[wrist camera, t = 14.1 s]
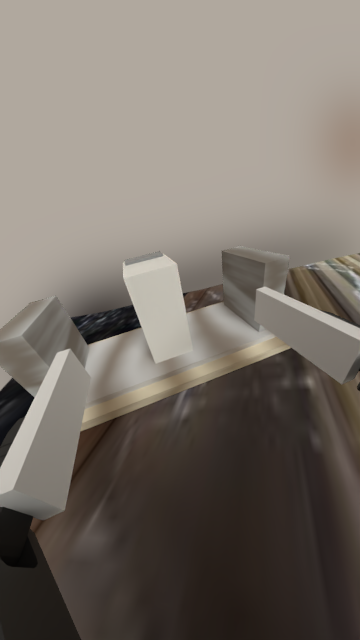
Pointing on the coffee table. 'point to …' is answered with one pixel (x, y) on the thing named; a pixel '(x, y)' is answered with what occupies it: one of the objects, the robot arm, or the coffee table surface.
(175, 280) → the block
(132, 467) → the coffee table surface
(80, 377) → the robot arm
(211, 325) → the board
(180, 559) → the coffee table surface
